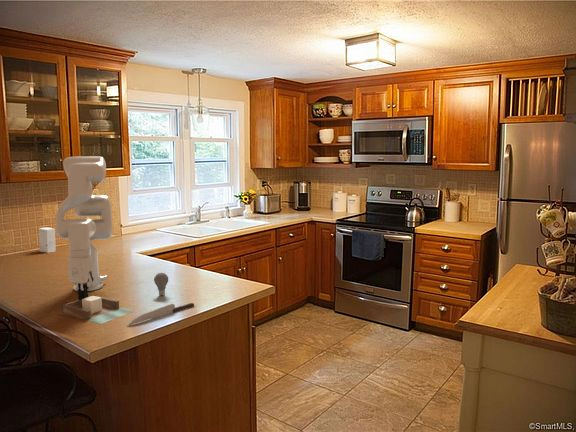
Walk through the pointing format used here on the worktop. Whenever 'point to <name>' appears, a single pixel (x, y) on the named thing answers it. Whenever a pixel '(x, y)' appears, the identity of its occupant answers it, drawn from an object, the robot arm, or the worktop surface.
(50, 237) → the skincare box
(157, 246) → the worktop surface
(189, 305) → the kitchen knife
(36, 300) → the worktop surface
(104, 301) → the walnut cubby
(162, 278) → the light bulb
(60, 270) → the worktop surface
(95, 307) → the cream block
